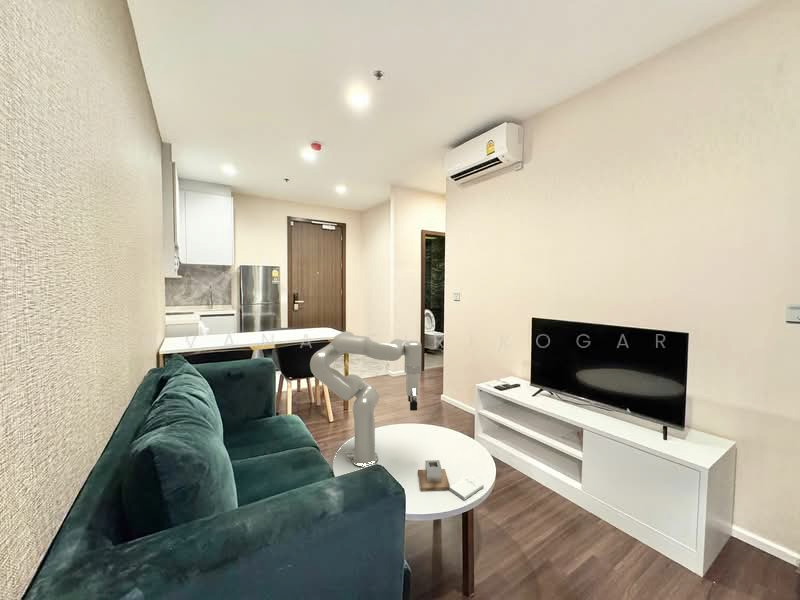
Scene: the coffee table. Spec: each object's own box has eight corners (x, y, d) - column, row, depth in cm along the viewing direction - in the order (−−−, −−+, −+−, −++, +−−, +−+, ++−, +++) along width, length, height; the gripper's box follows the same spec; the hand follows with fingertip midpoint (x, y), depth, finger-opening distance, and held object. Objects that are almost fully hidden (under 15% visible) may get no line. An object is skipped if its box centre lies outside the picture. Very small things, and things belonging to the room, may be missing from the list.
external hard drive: (448, 490, 133) (467, 477, 141) (464, 501, 127) (483, 487, 134) (448, 486, 133) (467, 474, 141) (464, 497, 126) (483, 483, 134)
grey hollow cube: (427, 482, 135) (427, 468, 135) (425, 473, 141) (425, 460, 140) (441, 482, 135) (441, 468, 135) (438, 473, 141) (439, 460, 141)
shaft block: (420, 491, 132) (421, 476, 131) (417, 472, 144) (417, 458, 143) (450, 490, 133) (450, 475, 132) (444, 472, 145) (444, 458, 144)
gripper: (403, 363, 154) (403, 398, 156) (405, 375, 137) (405, 414, 138) (419, 363, 154) (418, 398, 156) (423, 374, 137) (423, 414, 139)
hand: (412, 405), depth 147 cm, fingers open, 9 cm apart
